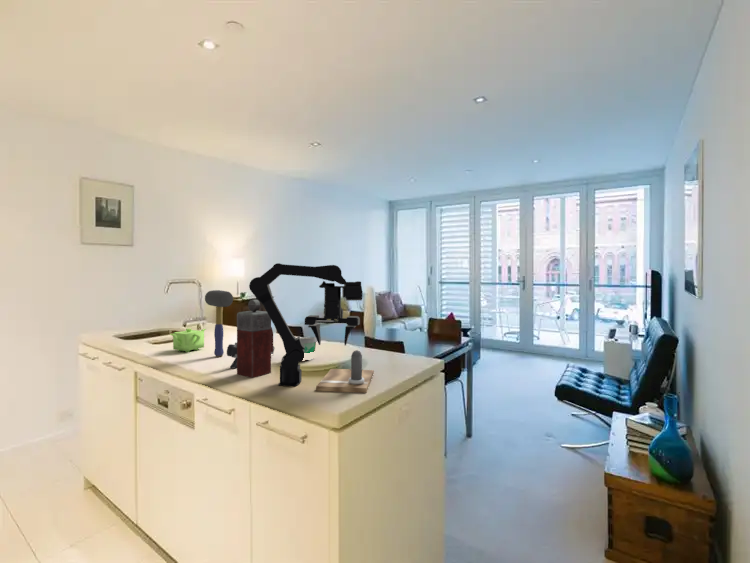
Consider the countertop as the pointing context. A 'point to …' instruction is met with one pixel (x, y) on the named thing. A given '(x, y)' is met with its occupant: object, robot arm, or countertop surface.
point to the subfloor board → (344, 381)
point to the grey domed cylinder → (356, 368)
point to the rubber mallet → (218, 315)
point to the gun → (235, 354)
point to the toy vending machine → (254, 341)
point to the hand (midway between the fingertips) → (332, 344)
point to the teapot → (188, 340)
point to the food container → (309, 344)
